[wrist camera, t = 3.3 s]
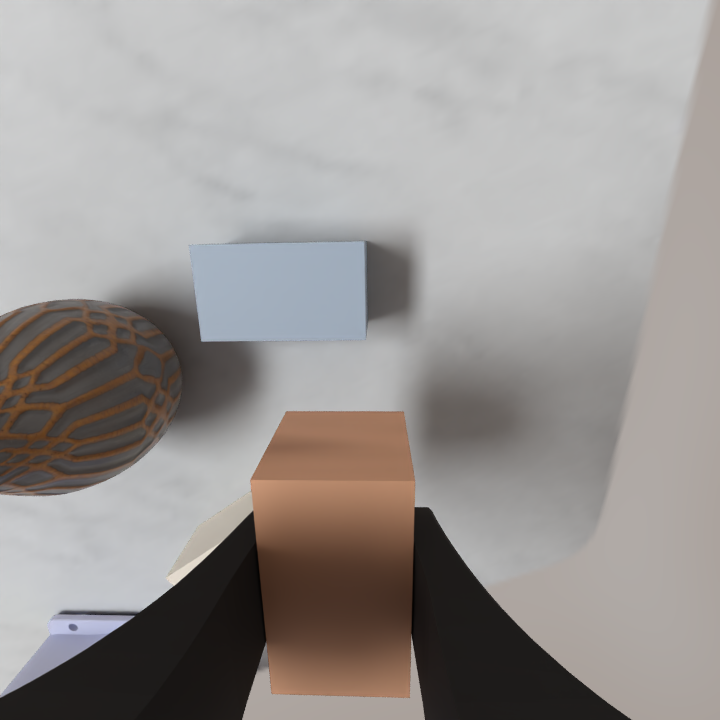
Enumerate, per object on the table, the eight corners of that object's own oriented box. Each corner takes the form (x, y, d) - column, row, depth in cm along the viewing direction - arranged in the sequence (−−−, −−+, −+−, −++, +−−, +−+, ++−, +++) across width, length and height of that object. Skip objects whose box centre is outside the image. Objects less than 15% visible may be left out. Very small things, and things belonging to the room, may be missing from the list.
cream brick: (241, 568, 22) (217, 628, 19) (199, 524, 22) (165, 577, 18) (329, 513, 21) (320, 566, 18) (287, 465, 20) (269, 510, 17)
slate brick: (233, 322, 19) (201, 341, 15) (225, 243, 18) (188, 244, 14) (367, 320, 18) (365, 339, 15) (366, 240, 17) (364, 241, 14)
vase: (204, 297, 18) (54, 348, 10) (205, 439, 20) (81, 583, 12) (48, 281, 18) (-233, 318, 10) (64, 424, 20) (-159, 557, 12)
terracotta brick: (401, 581, 14) (409, 698, 10) (297, 579, 14) (271, 694, 10) (403, 411, 12) (415, 481, 8) (286, 411, 12) (250, 480, 9)
